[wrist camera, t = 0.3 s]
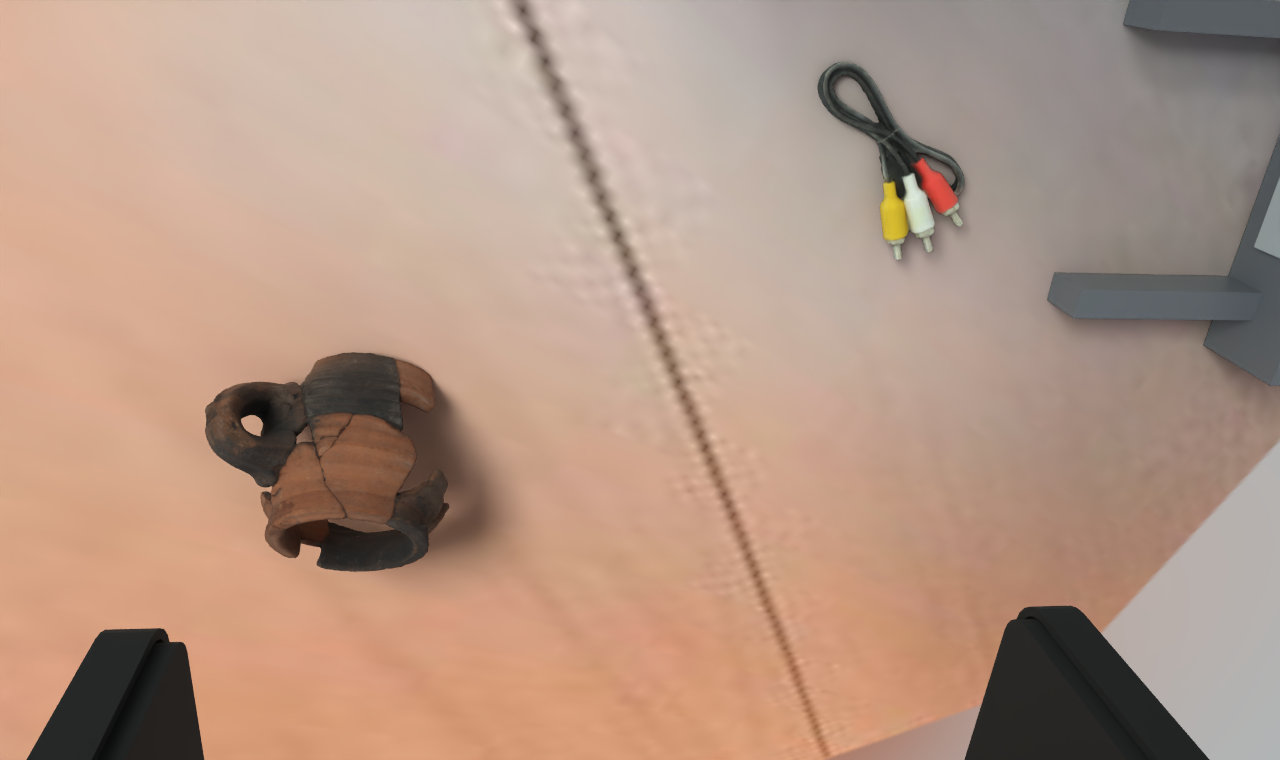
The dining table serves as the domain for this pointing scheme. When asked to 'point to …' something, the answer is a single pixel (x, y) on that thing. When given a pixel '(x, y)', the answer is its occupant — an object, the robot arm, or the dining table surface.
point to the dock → (1266, 258)
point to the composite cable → (897, 165)
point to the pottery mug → (335, 459)
